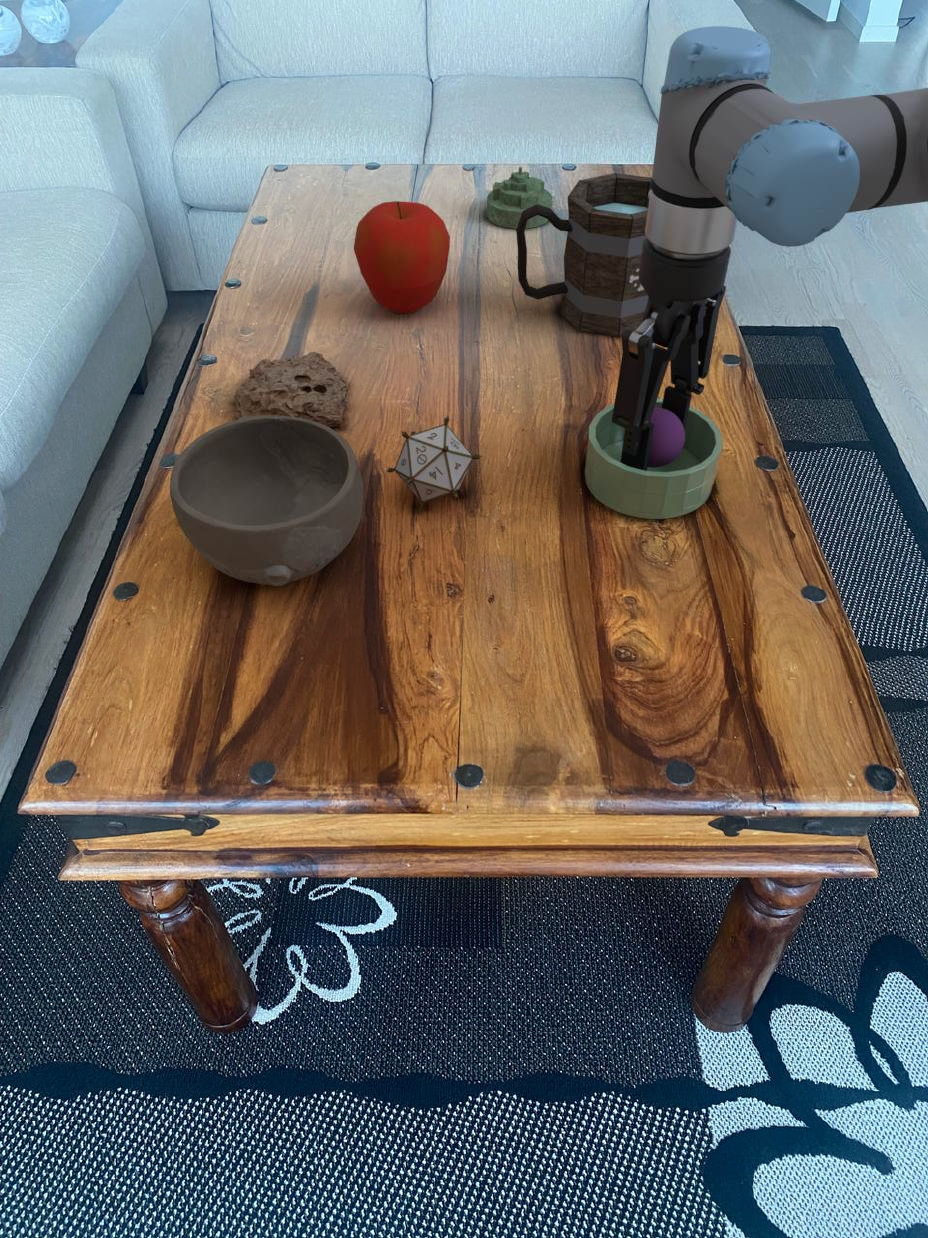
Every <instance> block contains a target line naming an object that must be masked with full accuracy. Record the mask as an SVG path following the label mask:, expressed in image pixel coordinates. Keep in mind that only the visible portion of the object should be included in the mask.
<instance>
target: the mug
mask: <svg viewBox="0 0 928 1238" xmlns="http://www.w3.org/2000/svg"><path fill="white" fill-rule="evenodd" d="M651 182H652V177H649V176H643V175H642V176H641V175H636V174H635V175H633V174H627V173H618V172H613V173H608V174H603V175H598V176H593V177H589V178H584V179H580V180H578V181H577V183H576V184H575V185H574V187H573V188H572V190H571V192H570V193H569V194H568V195H567V210H568V211H567V212H568V213H567V214H568V219H562V218H560V217H559V216H558V215H557V214H556V213H555V212H554V211H553V209H552V210H551V209H550V208H548V207H545V206H542V205H539V204H536V205H534V206H532V207H529V208H527V209H525V210H523V212H522V214H521V217H520V220H519V223H518V226H517V229H515V232H516V233H515V234H516V244H517V246H516V247H517V280H518V281H517V282H518V283H519V285H520V287H521V289H522V291H523V293H524V295H525V296H527V297H529V298H532V299H535V300H542V299H546V298H548V297H553V296H558V295H562V298H561V299H562V300H561V305H560V309H559V310H560V311H559V313H560V314H561V315H562V316H563V317H564V318H565V319H567V320H568V321H569V322H570V323H571V325H573V326H574V327H575V328H576V329H577V330H578V331H581V332H585V333H587V332H588V333H592V334H593V333H594V334H598V335H604V336H610V337H616V338H622V334H623V332H624V331H625V329H627V328H630V329H632V330H634V331H635V330H636V329H637V328H638V327H639V326H640V325H641V324H642V323H643V313H644V311H645V308H646V305H647V302H648V295H647V293H646V291H645V290H644V288H643V287H642V285H641V284H640V281H639V268H640V261H641V253H642V246H643V242H644V240H645V239H646V238H647V237H646V234H645V227H646V220H647V213H648V206H649V197H648V194H649V191H650V190H651ZM537 215H539V216H542V217H544V218H546V219H548V220H549V221H548V222H549V223H550V224H551V225H552V226H553V227H554V228H555V229H556V230H558V231H559V232H567V235H566V241H565V248H564V253H563V271H564V272H563V273H564V275H563V277H564V279H563V281H561V282H556V283H555V282H554V283H551V284H550V283H549V284H546V285H544V286H541V287H538V288H537V287H534V286H531V285H530V283H529V281H528V278H527V275H528V273H527V272H528V271H527V269H528V267H527V266H528V247H527V239H526V233H525V231H526V229H527V228H526V224H527V220H528V219H530V218H532V217H535V216H537ZM525 228H526V229H525Z"/></svg>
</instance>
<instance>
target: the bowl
mask: <svg viewBox="0 0 928 1238" xmlns="http://www.w3.org/2000/svg"><path fill="white" fill-rule="evenodd" d="M169 495H170V503H171V505H172V510H173V513H174V517H175V518H176V521H177V524H178V525H179V528H180V529H181V531H182V533H183V535H184V537H186V539H187V540H188V542H189V543H190V544H191V545H192V546H193V548H194V549H195V550H196V551H197V552H198V553H199V554H200V556H201V557H202V558H203V559H204V560H205V561H206V562H207V563H208V564H209V565H211V567H213V568H215V569H216V570H218V571H219V572H221V573H223V574H225V575H226V576H229V577H230V578H232V579H233V578H234V579H236V580H239V581H243V582H245V583H252V584H257V585H266V586H269V585H270V586H275V587H279V586H280V587H282V586H285V585H287V584H288V583H290V582H295V581H299V580H302V579H304V578H306V577H309V576H311V575H314V574H316V573H318V572H319V571H321V570H323V569H324V568H325V567H326V566H327V565H329V564H330V563H331V562H332V561H334V560H335V558H338V556H339V555H340V554H341V553H342V552H343V551H344V550H345V549H346V548H347V546H348V545H349V544H350V543H351V541H352V539H353V537H354V535H355V534H356V531H357V530H358V527H359V526H360V525H359V524H360V521H361V519H362V515H363V509H364V499H365V498H364V497H365V495H364V483H363V475H362V472H361V469H360V465H359V463H358V459H357V456H356V454H355V452H354V450H353V448H352V446H351V445H350V443H349V441H347V439H345V438H344V437H343V436H342V434H340V432H339V433H338V431H336V430H334V429H333V428H332V427H331V428H329V427H327V426H325V425H323V424H320V423H318V422H315V421H312V420H308V419H304V418H299V417H290V416H277V415H259V416H250V417H246V418H241V419H234V420H230V421H228V422H225V423H221V424H220V425H217V426H216V427H213V428H211V429H210V430H208V431H206V432H204V433H202V434H201V435H200V436H197V437H196V438H195V439H194V440H193V441H192V442H190V443H189V445H187V446H186V447H185V448H184V449H183V450H182V451H181V452H180V453H179V455H178V456H177V458H176V460H175V462H174V463H173V466H172V469H171V472H170V478H169Z"/></svg>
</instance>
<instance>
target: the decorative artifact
mask: <svg viewBox="0 0 928 1238" xmlns="http://www.w3.org/2000/svg"><path fill="white" fill-rule="evenodd" d="M536 204H539V205H542V206H545V207H548V208H550V209H551V210H552V211H553V195H552V193H550V191H548V190H546V189H545V181H544V180H542V179H540V178H537V177H534V176H530V173H529V172H528V171H523V167H522V166H519V167H518V171H516V172H511V173H510V177H509V178H508V179H503V181H501V182H499V181H495V182H494V183H493V184H492V190H490V192H489V193H488V194H487V195H486V217H487V219H488V220H489V221H490V222H491V223H492V224H494V225H497V226H499V227H502V228H505V229H514V230H516V229H517V226H518V223H519V220H520V217H521V214H522V212H523V210H525V209H527V208H529V207H532V206H534V205H536ZM547 222H550V221H549V220H548V219H546V218H544V217H542V216H539V215H537V216H535V217H532V218H530V219H528V220H527V224H526V228H525V230H526V229H532V228H537V227H540V226H543V225H544V224H546V223H547Z"/></svg>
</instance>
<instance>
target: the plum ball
mask: <svg viewBox="0 0 928 1238" xmlns="http://www.w3.org/2000/svg"><path fill="white" fill-rule="evenodd" d="M650 423H652V424H654V430H653V436H652V442H651V448H650V454H649V460H648V466H647V467H652V468H656V467H662V466H665V465H667V464H669V463H671V462H672V461H673V460H675V459H676V458H677V457H678V455H679V454H680V452H681V451H682V448H683V446H684V442H685V431H684V427H683V425H682V423H681V421H680V419H679V418H678V417H677V416H676V415H675V414H674V413H672V412H671V411H669V410H666V409H663V408H654V410H653V414H652V417H651V420H650Z"/></svg>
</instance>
